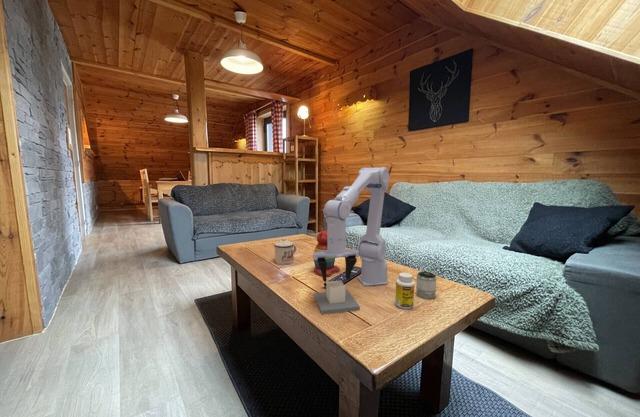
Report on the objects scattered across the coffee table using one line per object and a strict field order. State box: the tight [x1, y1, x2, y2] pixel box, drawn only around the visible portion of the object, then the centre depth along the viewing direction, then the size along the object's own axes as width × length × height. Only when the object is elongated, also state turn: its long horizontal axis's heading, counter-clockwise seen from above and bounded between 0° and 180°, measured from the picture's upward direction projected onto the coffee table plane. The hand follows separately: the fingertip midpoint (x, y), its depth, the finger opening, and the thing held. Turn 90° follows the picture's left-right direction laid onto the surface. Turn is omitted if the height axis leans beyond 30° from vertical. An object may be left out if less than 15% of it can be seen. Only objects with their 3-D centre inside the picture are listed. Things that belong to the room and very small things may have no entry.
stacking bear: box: [313, 229, 340, 278], centre depth 112 cm, size 11×10×18 cm
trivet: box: [313, 289, 361, 315], centre depth 85 cm, size 12×12×1 cm
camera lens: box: [415, 271, 437, 300], centre depth 90 cm, size 6×6×8 cm
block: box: [325, 280, 346, 303], centre depth 85 cm, size 5×5×5 cm
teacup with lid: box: [274, 237, 297, 266], centre depth 125 cm, size 12×9×12 cm
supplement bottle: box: [394, 272, 416, 310], centre depth 83 cm, size 6×6×10 cm
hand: (336, 279), depth 84 cm, fingers open, 7 cm apart
